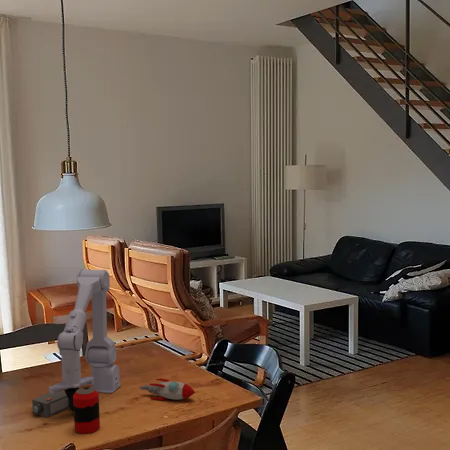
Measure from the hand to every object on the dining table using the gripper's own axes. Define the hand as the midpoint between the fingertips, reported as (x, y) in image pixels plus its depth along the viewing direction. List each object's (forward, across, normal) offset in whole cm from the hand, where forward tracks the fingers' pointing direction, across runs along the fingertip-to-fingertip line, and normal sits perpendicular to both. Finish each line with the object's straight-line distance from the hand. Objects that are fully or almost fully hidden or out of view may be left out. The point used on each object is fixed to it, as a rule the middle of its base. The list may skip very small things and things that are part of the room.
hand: (73, 410), depth 199 cm
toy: (+2, +31, -8) cm, 32 cm away
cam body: (+2, -4, +8) cm, 9 cm away
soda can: (+2, -1, -12) cm, 13 cm away
